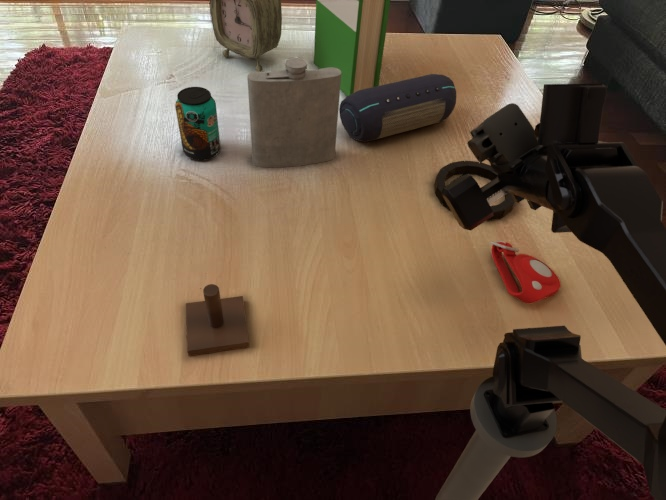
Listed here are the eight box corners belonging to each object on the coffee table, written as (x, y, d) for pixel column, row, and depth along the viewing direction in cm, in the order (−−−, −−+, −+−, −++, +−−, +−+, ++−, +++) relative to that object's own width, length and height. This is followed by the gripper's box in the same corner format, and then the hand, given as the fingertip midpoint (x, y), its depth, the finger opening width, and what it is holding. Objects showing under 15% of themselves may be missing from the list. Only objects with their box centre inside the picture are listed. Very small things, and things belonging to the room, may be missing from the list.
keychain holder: (565, 266, 83) (565, 300, 75) (548, 285, 86) (546, 320, 78) (498, 228, 85) (491, 257, 76) (483, 248, 87) (475, 278, 79)
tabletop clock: (215, 57, 126) (203, -59, 108) (241, 44, 131) (234, -68, 113) (259, 78, 121) (255, -41, 103) (285, 64, 126) (285, -51, 108)
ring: (529, 212, 94) (533, 204, 93) (457, 227, 90) (460, 218, 89) (488, 164, 103) (490, 155, 102) (421, 175, 100) (423, 167, 98)
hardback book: (377, 92, 120) (393, -20, 102) (349, 98, 117) (360, -15, 100) (340, 57, 130) (348, -49, 113) (313, 63, 127) (318, -46, 110)
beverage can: (175, 152, 100) (164, 95, 91) (202, 136, 104) (194, 80, 95) (202, 167, 97) (193, 110, 88) (228, 150, 101) (223, 94, 92)
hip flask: (332, 150, 103) (340, 52, 89) (337, 162, 101) (345, 64, 86) (251, 157, 100) (245, 57, 85) (254, 170, 97) (248, 69, 83)
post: (249, 347, 71) (245, 310, 65) (188, 356, 70) (179, 319, 64) (243, 300, 76) (239, 263, 70) (186, 308, 75) (178, 270, 69)
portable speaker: (357, 155, 102) (362, 110, 95) (332, 128, 108) (336, 84, 101) (458, 127, 112) (470, 84, 104) (431, 104, 118) (440, 61, 110)
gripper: (591, 67, 55) (520, 71, 70) (443, 166, 56) (403, 150, 71) (629, 155, 59) (554, 142, 74) (488, 247, 60) (442, 216, 75)
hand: (488, 161), depth 73 cm, fingers open, 9 cm apart
